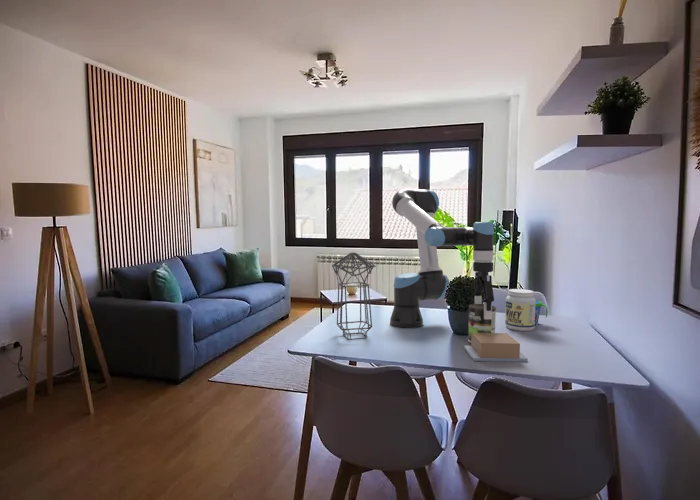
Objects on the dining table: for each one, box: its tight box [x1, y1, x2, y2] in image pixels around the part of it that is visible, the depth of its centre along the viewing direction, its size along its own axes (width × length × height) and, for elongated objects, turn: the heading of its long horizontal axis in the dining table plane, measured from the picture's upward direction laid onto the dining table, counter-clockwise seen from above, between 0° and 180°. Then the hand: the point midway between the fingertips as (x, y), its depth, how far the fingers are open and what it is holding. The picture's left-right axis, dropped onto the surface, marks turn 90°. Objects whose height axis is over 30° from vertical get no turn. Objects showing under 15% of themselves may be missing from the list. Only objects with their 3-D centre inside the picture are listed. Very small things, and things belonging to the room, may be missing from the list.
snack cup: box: [535, 299, 549, 325], centre depth 190 cm, size 16×10×10 cm
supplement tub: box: [504, 288, 537, 332], centre depth 180 cm, size 12×12×17 cm
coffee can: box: [467, 303, 497, 344], centre depth 159 cm, size 10×10×14 cm
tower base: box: [463, 332, 528, 363], centre depth 144 cm, size 18×14×6 cm
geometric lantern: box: [331, 252, 377, 341], centre depth 167 cm, size 16×16×35 cm
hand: (482, 315), depth 159 cm, fingers open, 13 cm apart
